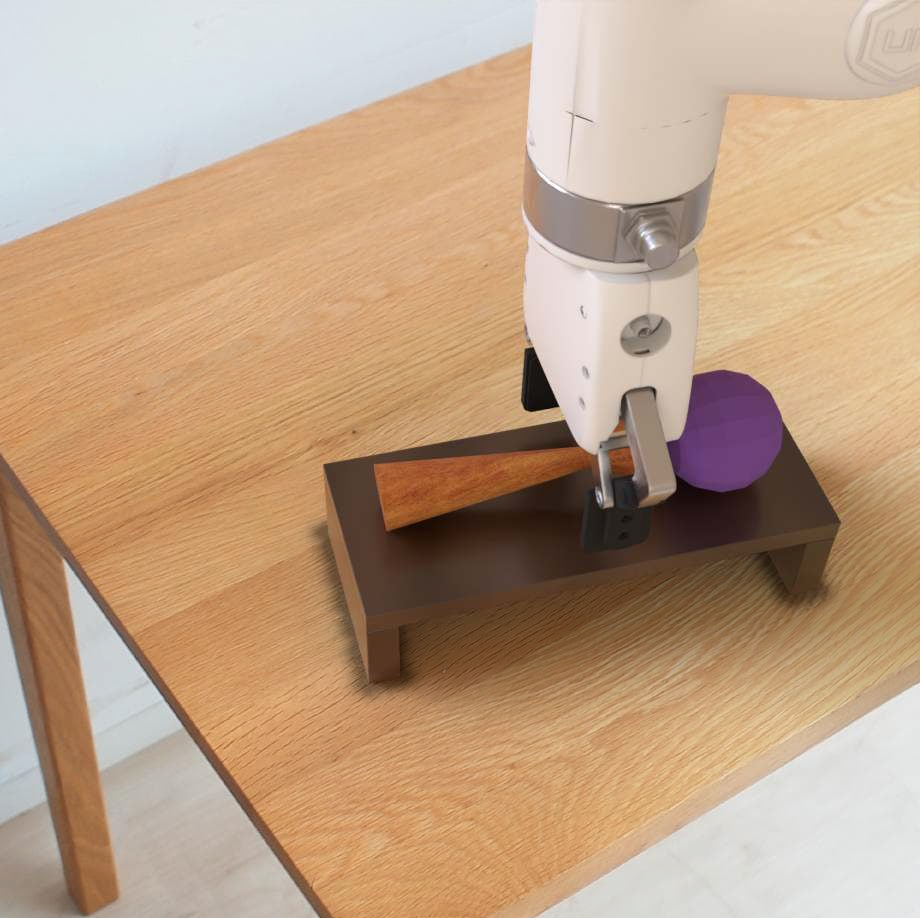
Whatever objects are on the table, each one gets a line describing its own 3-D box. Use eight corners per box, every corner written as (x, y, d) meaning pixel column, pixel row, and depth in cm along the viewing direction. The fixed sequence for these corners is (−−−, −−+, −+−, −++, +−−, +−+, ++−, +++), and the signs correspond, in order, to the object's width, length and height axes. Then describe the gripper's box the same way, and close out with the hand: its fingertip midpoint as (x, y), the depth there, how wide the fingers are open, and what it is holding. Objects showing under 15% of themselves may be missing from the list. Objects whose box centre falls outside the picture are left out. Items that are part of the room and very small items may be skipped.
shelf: (742, 458, 82) (761, 383, 77) (816, 595, 76) (841, 521, 71) (328, 538, 78) (322, 463, 74) (369, 689, 72) (365, 617, 67)
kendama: (363, 413, 70) (759, 336, 72) (379, 507, 74) (755, 432, 75) (381, 487, 66) (804, 404, 67) (397, 583, 69) (797, 502, 71)
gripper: (790, 310, 53) (718, 592, 66) (632, 56, 64) (597, 341, 77) (597, 344, 52) (562, 624, 65) (469, 80, 63) (461, 365, 76)
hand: (581, 470), depth 71 cm, fingers open, 9 cm apart
